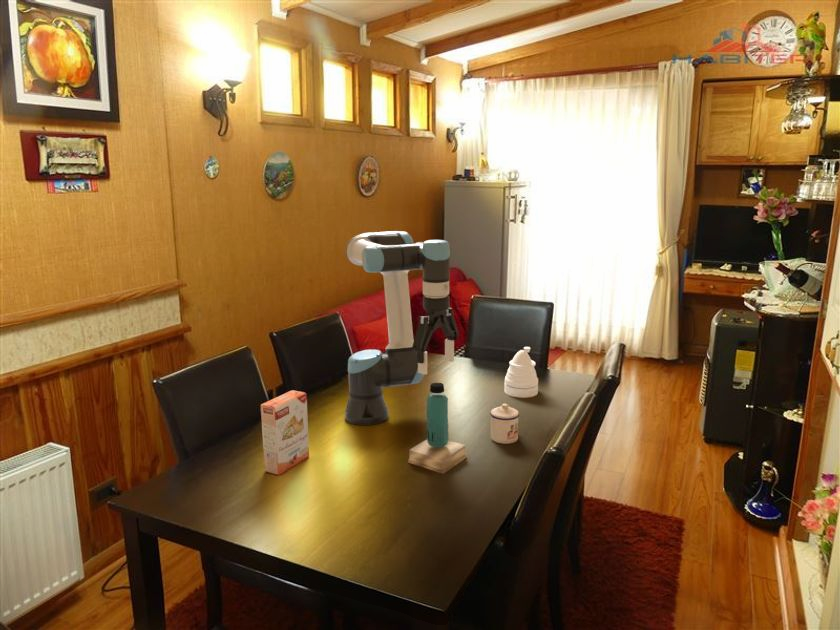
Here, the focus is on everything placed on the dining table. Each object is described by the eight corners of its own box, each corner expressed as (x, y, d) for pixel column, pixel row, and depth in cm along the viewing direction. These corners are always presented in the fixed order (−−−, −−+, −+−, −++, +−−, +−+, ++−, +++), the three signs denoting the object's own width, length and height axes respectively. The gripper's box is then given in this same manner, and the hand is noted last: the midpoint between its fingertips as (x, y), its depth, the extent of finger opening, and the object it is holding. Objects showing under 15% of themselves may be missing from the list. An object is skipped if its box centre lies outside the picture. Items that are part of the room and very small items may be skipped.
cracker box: (279, 476, 178) (275, 407, 173) (263, 472, 181) (258, 404, 176) (311, 456, 190) (307, 391, 185) (295, 452, 193) (291, 388, 188)
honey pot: (543, 389, 244) (544, 345, 240) (530, 399, 233) (531, 353, 229) (512, 383, 251) (513, 340, 246) (498, 393, 240) (499, 348, 236)
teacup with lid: (511, 446, 195) (512, 411, 192) (485, 440, 199) (485, 406, 197) (526, 432, 205) (527, 399, 202) (500, 427, 209) (501, 394, 207)
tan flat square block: (408, 462, 185) (407, 450, 184) (432, 447, 195) (432, 435, 194) (443, 474, 178) (443, 461, 177) (466, 457, 188) (466, 445, 187)
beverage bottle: (451, 444, 187) (452, 381, 183) (443, 454, 182) (443, 389, 177) (432, 441, 190) (431, 378, 185) (422, 450, 184) (422, 385, 180)
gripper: (420, 305, 164) (421, 381, 169) (470, 289, 184) (470, 358, 189) (398, 301, 169) (399, 376, 174) (449, 286, 188) (449, 353, 193)
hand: (436, 367), depth 181 cm, fingers open, 13 cm apart
